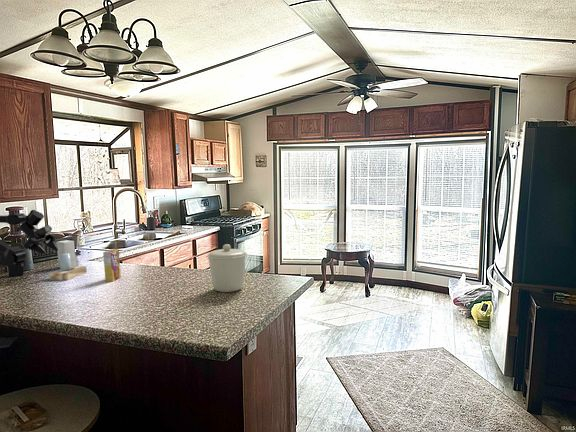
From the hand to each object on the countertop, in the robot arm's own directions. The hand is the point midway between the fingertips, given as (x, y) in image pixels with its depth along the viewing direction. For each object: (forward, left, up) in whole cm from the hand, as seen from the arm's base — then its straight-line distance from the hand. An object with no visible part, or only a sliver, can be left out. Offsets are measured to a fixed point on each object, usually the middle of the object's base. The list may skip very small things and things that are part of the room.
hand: (51, 252), depth 214 cm
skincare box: (+10, +20, -13) cm, 26 cm away
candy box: (+22, -30, -13) cm, 40 cm away
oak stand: (+6, -6, -13) cm, 16 cm away
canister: (+57, -86, -13) cm, 104 cm away
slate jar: (+5, -5, -13) cm, 15 cm away
